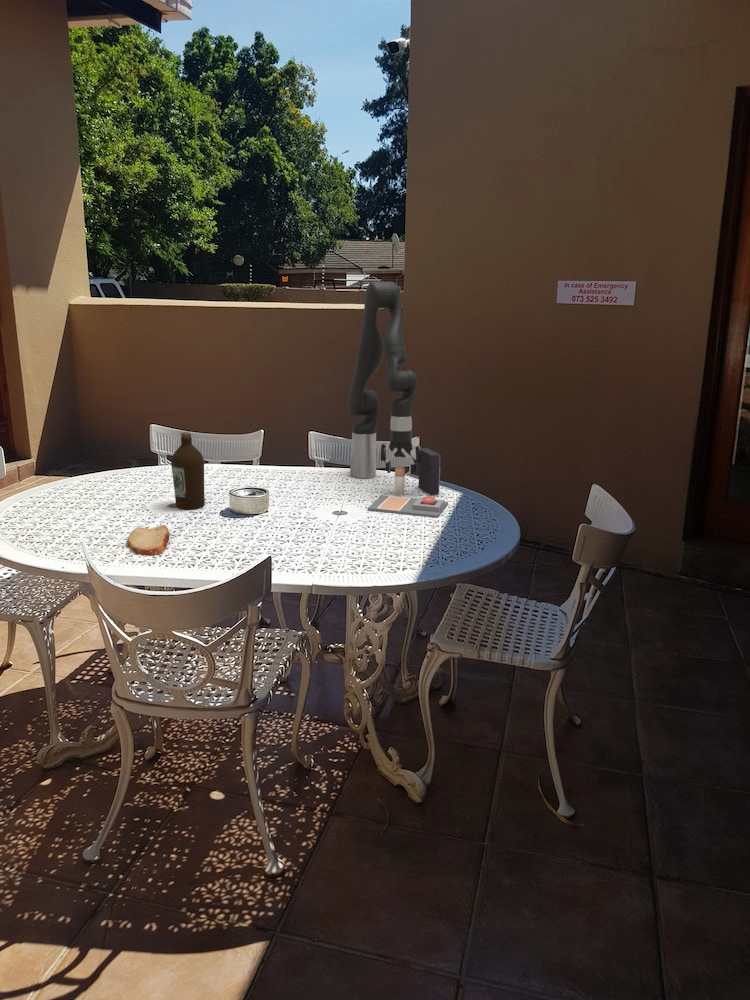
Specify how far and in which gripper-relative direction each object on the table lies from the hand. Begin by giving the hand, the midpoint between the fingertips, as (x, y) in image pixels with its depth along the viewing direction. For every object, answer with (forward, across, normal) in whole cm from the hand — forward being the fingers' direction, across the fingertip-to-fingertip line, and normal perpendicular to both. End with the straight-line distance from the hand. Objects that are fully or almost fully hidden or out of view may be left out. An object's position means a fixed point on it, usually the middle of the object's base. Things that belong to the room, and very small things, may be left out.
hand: (400, 473), depth 266 cm
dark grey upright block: (+8, -9, -7) cm, 14 cm away
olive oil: (+8, +63, +37) cm, 74 cm away
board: (+8, -7, +14) cm, 17 cm away
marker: (+8, 0, 0) cm, 8 cm away
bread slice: (+9, +55, +72) cm, 91 cm away
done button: (+6, -14, +14) cm, 20 cm away
